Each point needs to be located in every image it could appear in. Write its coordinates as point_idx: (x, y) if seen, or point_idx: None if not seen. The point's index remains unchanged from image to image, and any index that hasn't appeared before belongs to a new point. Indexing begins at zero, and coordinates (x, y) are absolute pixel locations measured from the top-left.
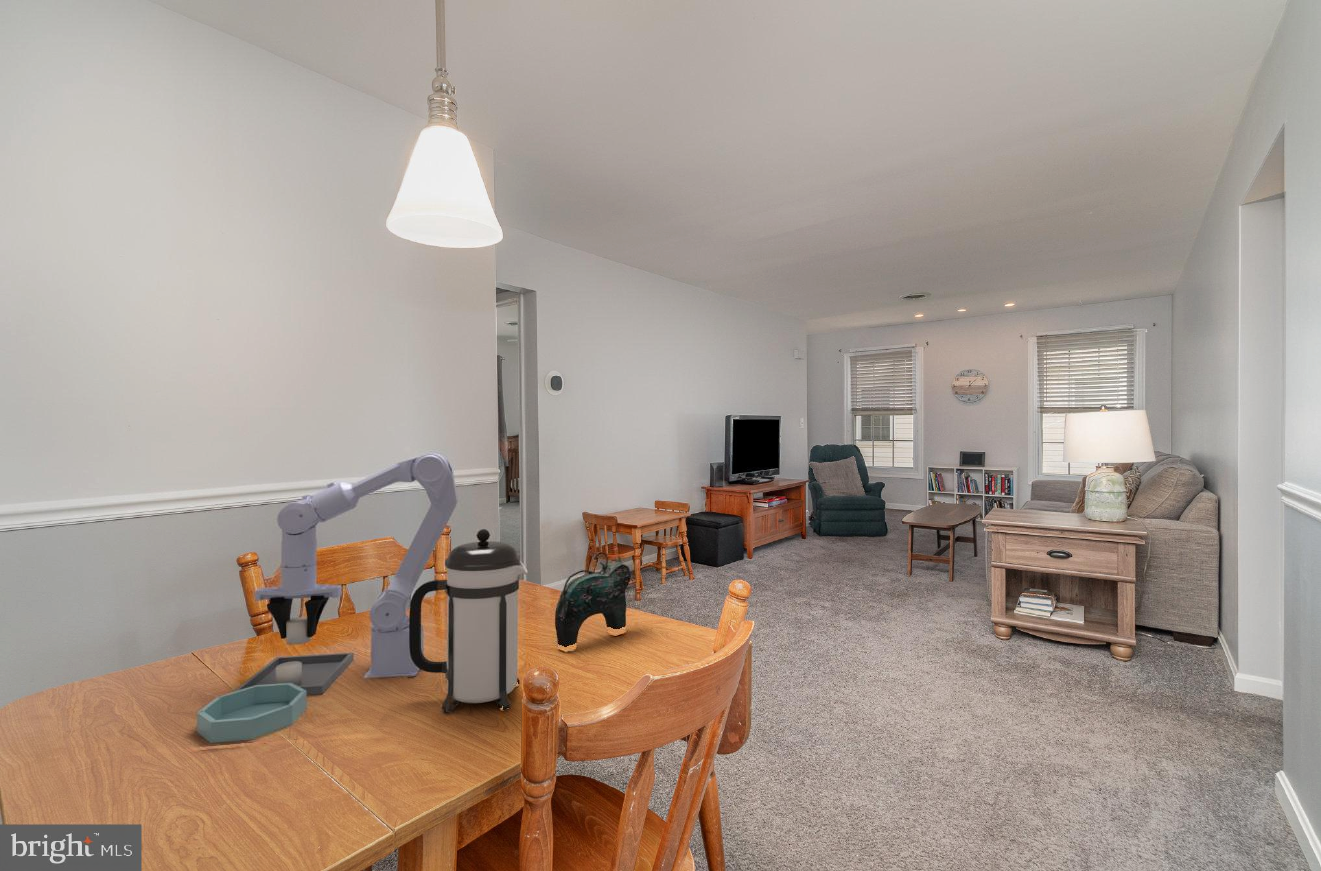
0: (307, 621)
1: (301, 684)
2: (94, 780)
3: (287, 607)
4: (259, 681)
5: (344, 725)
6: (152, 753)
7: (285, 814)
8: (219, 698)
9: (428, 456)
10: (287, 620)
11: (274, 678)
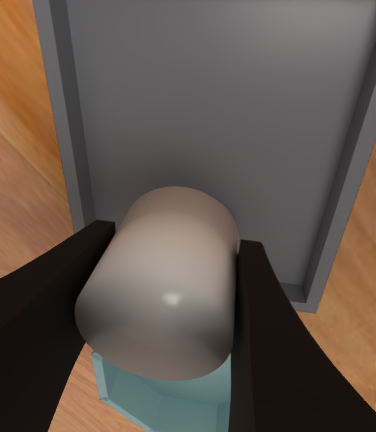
0: (231, 390)
1: (234, 219)
2: (65, 412)
3: (10, 400)
4: (87, 156)
5: (373, 408)
6: (86, 383)
7: None
8: (101, 362)
9: None
10: (76, 320)
11: (123, 141)
